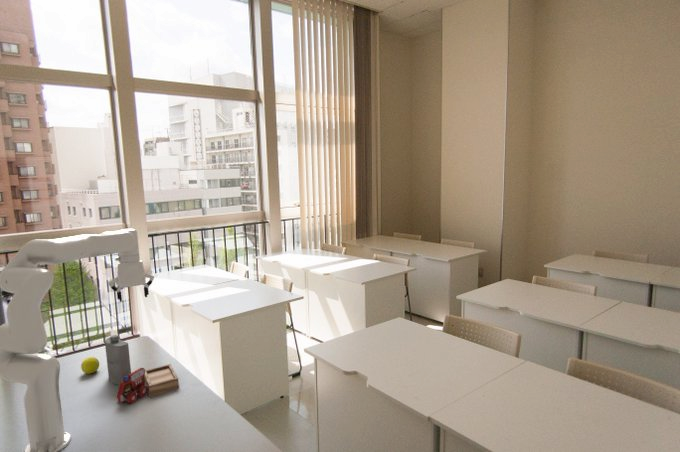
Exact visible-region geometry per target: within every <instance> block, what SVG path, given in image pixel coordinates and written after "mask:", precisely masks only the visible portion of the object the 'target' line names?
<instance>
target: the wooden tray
mask: <svg viewBox="0 0 680 452" xmlns="http://www.w3.org/2000/svg"><path fill="white" fill-rule="evenodd" d="M176 373H177V372H176V371H175V370H174V367H173V366H172V364H171V363H169V364H165V365H161V366H158V367H152V368H148V369H145V374H144V378H145V386H147V388H148V392H147V393H148V395H149V397H152V396H156V395H160V394H162V393H165V392H170V391H172V390H176V389H178V388H179V386H180V382H179V377H178V375H177V374H176Z"/></svg>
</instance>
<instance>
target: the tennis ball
mask: <svg viewBox="0 0 680 452" xmlns="http://www.w3.org/2000/svg"><path fill="white" fill-rule="evenodd" d="M80 368H81V370H82V372H83V373H84V374H88V375H89V374H93V373H95V372H97V371H98V369H100V362H99V360H98V358H96V357H94V356H90V357H87V358H84V359H83V361H82V362H81V366H80Z"/></svg>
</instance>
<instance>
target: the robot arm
mask: <svg viewBox="0 0 680 452" xmlns="http://www.w3.org/2000/svg"><path fill="white" fill-rule="evenodd" d="M139 247H140V246H139V237H138V230H137V229H135V228H123V229H120V230H113V231H112V230H111V231H110V230H109V231H103V232H101V233H100V234H78V235H72V236H67V237H58V238H52V239H51V238H49V239H48V238H47V239H45V238H44V239H42V238H41V239H39V238H37V239H31V240H29V241H28V242H26V243H25V244H24V245H23V246H22V247H21V248H20V249H18V251H17V252H16V253H15V255H14V256H13V257H12V258H11V259H10V260H9V262H8V263H7V264H6V265H5V266H4V268H3V269H2V270H1V272H0V289H1V290H3V291H4V292H6V293H11V294H13V296H12V297H11V299H10V301H9V303H8V305H7V308H6V319H7V322H6V323H5V322H4V323H3V324H1V325H0V376H1V378H2V379H4V380H5V381H7V382H9V383H15V384H23V385H26V386H27V388H26V390H25V393H24V397H23V406H24V410H25V411H24V412H25V419H26V426H27V434H28V440H29V441H28V442H29V443H28V444H27V445H26V446H25V448H24V452H60V451H62V450H63V449H64V448H66V447H67V446H68V445H69V443H71V440H72V437H71V434H70V433H69V432H67V431H65V426H64V418H63V417H64V416H63V411H62V410H63V409H62V400H61V394H60V372H61V364H60V361H59V359H58V358H57V357H56V356H54V355H51V354H46V353H40V352H42V351H43V350H44V349H45V348H46V347H47V344H48V335H47V331H46V327H45V323H44V320H43V315H42V311H41V310H42V308H41V306H42V302H43V300H44V298H45V297H46V294H47V293H48V292H49V291H50V290H51V288H52V286H53V285H54V274H53V272H52V271H51V270H50V269H48V268H45V267H40V266H39V267H38V265H59V264H60V265H61V264H65V263H68V262H73V261H78V260H81V259H87V258H94V257H95V258H96V257H101V256H102V257H103V256H108V255H114V254H118V256H117V257H114V259H115V261H116V262H118V263H117V277H115V278H113V279H111V280H110V281H109V282H108V283H107V284H108V285H109V288H111V290H112V291H113V292H116V296H117V300H119V302H123V299H122V297H123V296H122V292H121V290H122V289H125V288H130V287H138V286H144V287H143V294H144V297H145V298H148V295H149V294H150V293H149V287H150V286H151V285H152V283H153V281H154V279H155V275H152V274H148V273H146V272H145V267H144V264H143V261H142V260H141V258H140V248H139ZM146 278H149V279H148V281H147V280H146ZM146 281H147V282H146ZM116 282H117V283H118V286H117V287H116V286H115V285H114V284H115V283H116Z"/></svg>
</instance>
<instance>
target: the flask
mask: <svg viewBox="0 0 680 452" xmlns="http://www.w3.org/2000/svg"><path fill="white" fill-rule="evenodd" d="M104 347H105V357H106V364H107V365H106V366H107V374H108V380H109V381H110V382H111V383H113V384H114V385H116V386H120V383H121V382H123V377H124V376H128V375H129V374H131V373H132V368H131V358H130V348H129V343H128V342H127V341H124V340H121V339H120V335H118V334H113V335H111V336H109V337H108V338H106V339H104ZM128 384H129V383H128Z"/></svg>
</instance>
